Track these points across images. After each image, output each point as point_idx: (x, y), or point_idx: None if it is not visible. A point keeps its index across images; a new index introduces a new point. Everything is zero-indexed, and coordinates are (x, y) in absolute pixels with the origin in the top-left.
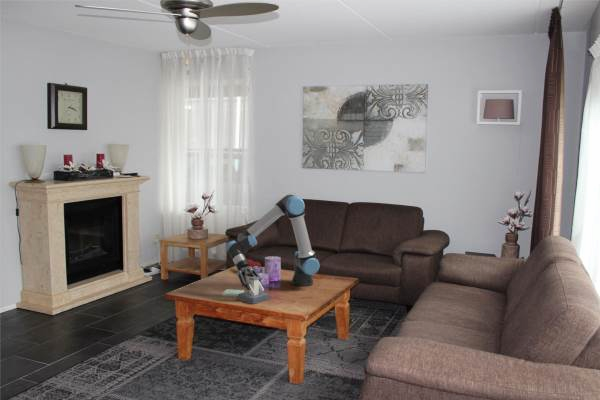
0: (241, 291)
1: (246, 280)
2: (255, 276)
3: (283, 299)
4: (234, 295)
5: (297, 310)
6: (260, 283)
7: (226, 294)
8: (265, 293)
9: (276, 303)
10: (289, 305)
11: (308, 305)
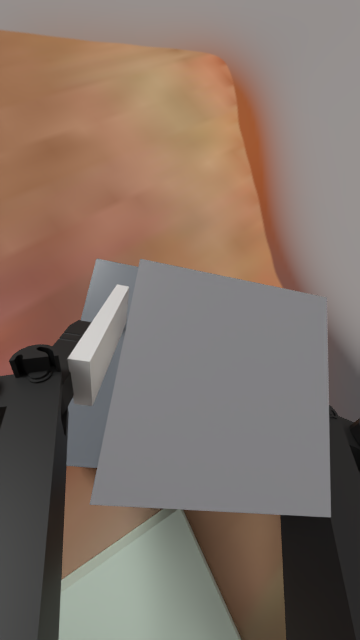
0: (73, 605)
1: (350, 477)
2: (102, 448)
3: (51, 211)
4: (199, 550)
5: (183, 87)
6: (86, 332)
7: (234, 629)
8: (102, 297)
9: (151, 208)
10: (139, 140)
11: (80, 67)
